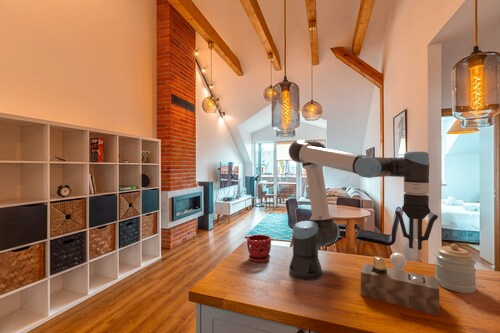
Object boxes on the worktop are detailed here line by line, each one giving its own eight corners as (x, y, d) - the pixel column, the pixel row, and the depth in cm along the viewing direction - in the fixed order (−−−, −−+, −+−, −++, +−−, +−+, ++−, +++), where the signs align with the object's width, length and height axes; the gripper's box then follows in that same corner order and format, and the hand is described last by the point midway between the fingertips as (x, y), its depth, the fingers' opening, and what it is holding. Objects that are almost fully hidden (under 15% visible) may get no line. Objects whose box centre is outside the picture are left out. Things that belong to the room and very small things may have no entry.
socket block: (360, 295, 91) (360, 272, 91) (364, 284, 99) (364, 263, 99) (439, 316, 78) (439, 289, 78) (436, 301, 86) (435, 277, 86)
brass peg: (372, 279, 91) (372, 258, 91) (373, 274, 95) (373, 255, 95) (385, 282, 89) (385, 261, 89) (386, 277, 93) (385, 257, 93)
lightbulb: (409, 281, 102) (409, 256, 102) (393, 280, 103) (393, 255, 103) (402, 274, 108) (402, 251, 108) (387, 273, 109) (387, 250, 109)
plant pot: (275, 257, 129) (274, 235, 129) (264, 266, 118) (263, 242, 118) (254, 253, 136) (254, 232, 136) (242, 260, 125) (242, 238, 125)
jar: (437, 275, 107) (437, 237, 107) (476, 285, 98) (476, 243, 98) (432, 285, 98) (432, 243, 98) (475, 298, 88) (475, 251, 89)
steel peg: (409, 300, 85) (409, 278, 85) (409, 294, 88) (409, 273, 88) (424, 304, 82) (424, 281, 82) (423, 298, 86) (423, 276, 86)
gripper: (394, 193, 86) (393, 256, 86) (440, 196, 79) (438, 265, 79) (395, 191, 92) (394, 250, 92) (437, 194, 85) (436, 258, 85)
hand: (415, 257), depth 86 cm, fingers closed
